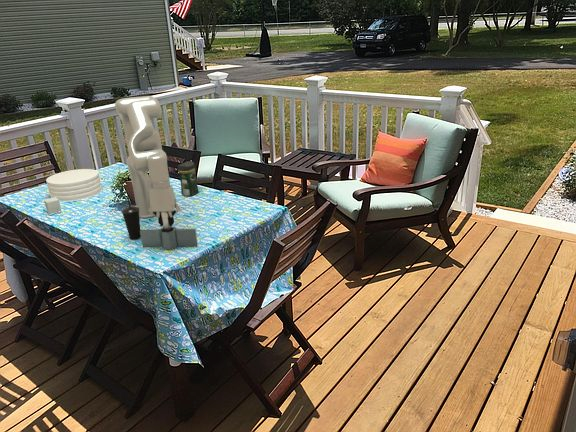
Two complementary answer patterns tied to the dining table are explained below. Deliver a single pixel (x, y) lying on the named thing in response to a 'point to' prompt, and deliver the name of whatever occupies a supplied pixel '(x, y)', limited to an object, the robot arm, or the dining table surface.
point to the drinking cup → (132, 221)
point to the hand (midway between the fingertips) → (166, 224)
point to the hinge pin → (166, 222)
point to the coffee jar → (188, 178)
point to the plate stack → (74, 184)
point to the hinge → (169, 238)
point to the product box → (52, 205)
